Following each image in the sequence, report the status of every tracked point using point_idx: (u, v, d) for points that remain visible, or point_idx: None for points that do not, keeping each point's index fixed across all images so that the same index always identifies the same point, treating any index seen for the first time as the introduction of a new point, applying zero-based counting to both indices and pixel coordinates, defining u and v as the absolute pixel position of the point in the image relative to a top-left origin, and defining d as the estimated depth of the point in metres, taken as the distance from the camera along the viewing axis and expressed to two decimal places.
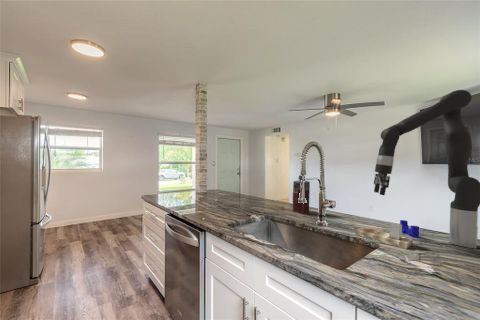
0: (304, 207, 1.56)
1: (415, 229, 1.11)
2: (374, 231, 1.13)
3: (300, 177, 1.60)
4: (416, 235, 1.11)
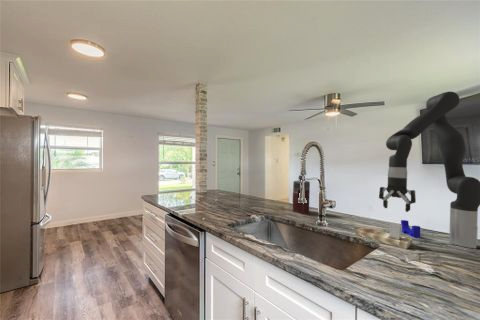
0: (304, 207, 1.56)
1: (416, 229, 1.11)
2: (374, 231, 1.13)
3: (300, 177, 1.60)
4: (417, 235, 1.11)
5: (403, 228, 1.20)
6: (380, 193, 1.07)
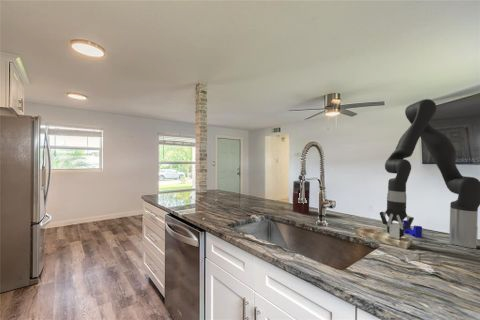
0: (304, 207, 1.56)
1: (418, 230, 1.11)
2: (374, 231, 1.13)
3: (300, 177, 1.60)
4: (419, 235, 1.11)
5: None
6: (382, 218, 1.06)
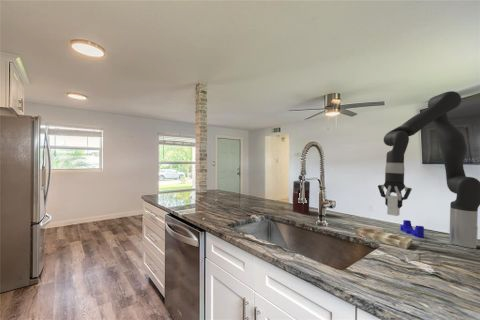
0: (304, 207, 1.56)
1: (420, 229, 1.11)
2: (374, 231, 1.13)
3: (300, 177, 1.60)
4: (421, 235, 1.11)
5: (406, 228, 1.20)
6: (380, 191, 1.07)
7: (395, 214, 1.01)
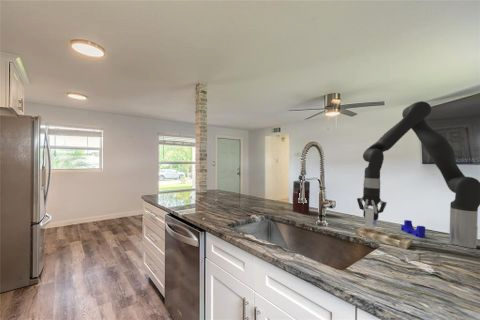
0: (304, 207, 1.56)
1: (421, 230, 1.11)
2: (374, 231, 1.13)
3: (300, 177, 1.60)
4: (422, 235, 1.11)
5: (407, 228, 1.20)
6: (359, 204, 1.15)
7: (371, 226, 1.09)
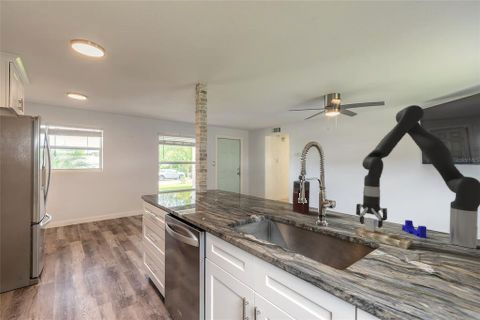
0: (304, 207, 1.56)
1: (422, 230, 1.11)
2: None
3: (300, 177, 1.60)
4: (423, 235, 1.11)
5: (408, 228, 1.20)
6: (357, 210, 1.16)
7: None
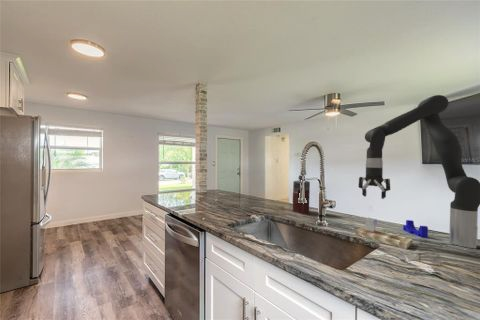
0: (304, 207, 1.56)
1: (424, 230, 1.11)
2: None
3: (300, 177, 1.60)
4: (424, 235, 1.11)
5: (409, 228, 1.20)
6: (359, 183, 1.16)
7: None
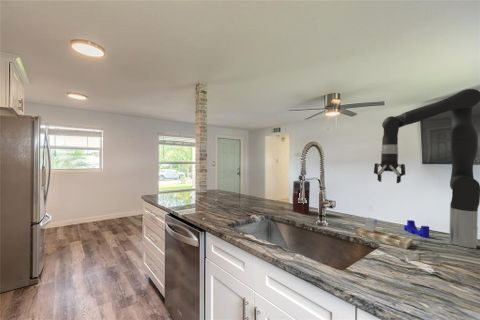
0: (304, 207, 1.56)
1: (425, 230, 1.12)
2: None
3: (300, 177, 1.60)
4: (426, 235, 1.11)
5: (410, 228, 1.20)
6: (375, 169, 1.22)
7: None
